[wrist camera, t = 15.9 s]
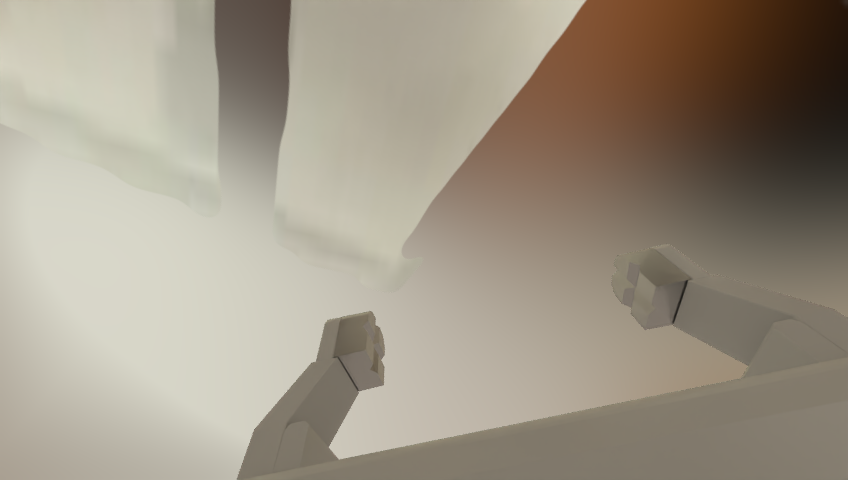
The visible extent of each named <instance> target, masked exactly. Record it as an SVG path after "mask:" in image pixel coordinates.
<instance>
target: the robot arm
mask: <svg viewBox="0 0 848 480" xmlns="http://www.w3.org/2000/svg"><path fill="white" fill-rule="evenodd" d="M614 266H615V267H616V268H617V269H618V270H617V271H616V272H615V273H614V275H613V276H612V287H613V291H614V293H615V295H616V297H617V298H618V299H619V301H620V302H621V303H622V304H624V305H627V306H629V307H631V315H632V316H633V317H634V318H635V319H636V320H637V321H638V323H639V324H640V325H641V326H642V327H643V328H644V329H645V330H646V329H652V328H657V327H663V326H668V325H673V324H674V325H673V326H674V327H676V328H678V329H680V330H682V331H684V332H686V333H688V334H690V335H691V336H693V337H695V338H697V339H699V340H701V341H703V342H705V343H706V344H708V345H710V346H712V347H714V348H716V349H718V350H720V351H721V352H723V353H725V354H727V355H729V356H731V357H733V358H735V359H736V360H739V361H740V362H742V363H744V364H746V365H748V367H747V369H746V371H745V372H744V374H743V376H742V378H741V379H736V380H731V381H726V382H721V383H716V384H711V385H706V386H701V387H696V388H692V389H686V390H681V391H676V392H671V393H666V394H661V395H657V396H651V397H647V398H642V399H637V400H632V401H627V402H622V403H617V404H612V405H607V406H602V407H597V408H592V409H588V410H582V411H577V412H572V413H567V414H563V415H558V416H553V417H548V418H543V419H538V420H533V421H528V422H523V423H519V424H513V425H509V426H503V427H499V428H494V429H489V430H484V431H479V432H474V433H469V434H464V435H459V436H454V437H450V438H444V439H439V440H434V441H429V442H425V443H419V444H415V445H410V446H405V447H400V448H395V449H390V450H385V451H380V452H375V453H370V454H365V455H360V456H355V457H350V458H345V459H340V460H339V459H338V458H337V457H336V456H335V455H334V454H333V452H332V451H331V450H330V449H329V445H330V444H331V442H332V440H333V438H334V436H335V435H336V433H337V431H338V429H339V427H340V426H341V424H342V422H343V420H344V419H345V417H346V415H347V413H348V411H349V409H350V408H351V406H352V404H353V402H354V400H355V399H356V397H357V395H358V393H359V392H358V391H362V390H366V389H370V388H374V387H378V386H382V385H384V365H383V363H382V361H381V359H382V358H383V356H384V353H385V351H384V350H385V347H384V339H383V335H382V332H381V330H380V328H379V327H378V326H376V325H375V320H376V319H375V316H374V314H373V312H371V311H369V312H364V313H359V314H354V315H348V316H344V317H341V318H335V319H330V320H327V322H326V323H325V326H324V330H323V334H322V338H321V343H320V347H319V351H318V355H317V360H316V362H313V363H311V364H310V365H309V367H308V368H307V369H306V370H305V371H304V372H303V373H302V375H301V376H300V377H299V378H298V379H297V380H296V382H295V383H294V384H293V385H292V386H291V388H290V389H289V390H288V391H287V392H286V393H285V394H284V396H283V397H282V398H281V399H280V400H279V401H278V403H277V404H276V405H275V406H274V407H273V408H272V410H271V411H270V412H269V413H268V414H267V415H266V417H265V418H264V419H263V420H262V421H261V422H260V424H259V425H258V426H257V427H256V428H255V429H254V432H253V435H252V438H251V441H250V443H249V446H248V449H247V452H246V455H245V457H244V460H243V463H242V466H241V469H240V471H239V474H238V478H237V480H848V318H847V317H846V316H844V315H842V314H841V313H839V312H837V311H836V310H834V309H832V308H829V307H825V306H822V305H818V304H815V303H812V302H808V301H805V300H801V299H798V298H795V297H792V296H788V295H785V294H781V293H778V292H775V291H771V290H768V289H764V288H761V287H758V286H754V285H751V284H747V283H745V282H741V281H738V280H734V279H731V278H728V277H724V276H721V275H718V274H716V275H710V274H709V273H708V272H706V271H705V270H704V269H702V268H701V267H700V266H698V265H697V264H695V263H694V262H693V261H691V260H690V259H689V258H687V257H686V256H685V255H683V254H682V253H681V252H679V251H678V250H677V249H675V248H674V247H672V246H671V245H667V244H664V245H660V246H656V247H652V248H649V249H643V250H639V251H635V252H631V253H627V254H622V255H618V256H617V257H616V259H615V262H614Z"/></svg>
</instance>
